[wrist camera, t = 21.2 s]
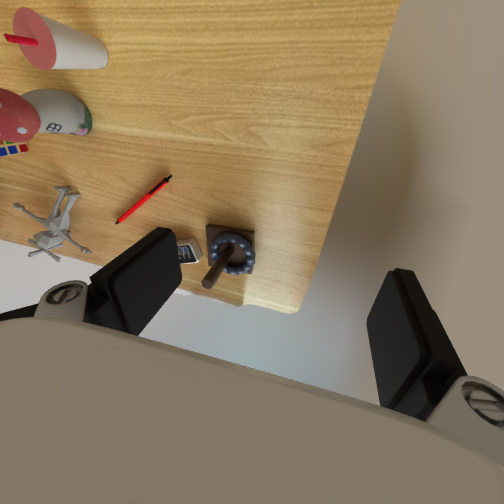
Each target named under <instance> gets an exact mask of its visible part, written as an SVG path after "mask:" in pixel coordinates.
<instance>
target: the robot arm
mask: <svg viewBox="0 0 504 504" xmlns="http://www.w3.org/2000/svg"><path fill="white" fill-rule="evenodd" d="M89 278H90V280H91V282H92V283H91V284H90V285H87V284H86V283H85V282H83V281H78V280H77V281H76V280H74V281H68V282H64V283H60V284H58V285H56V286H54V287H52V288H51V289H49V290H48V291H46V292H45V293H44V294H43V296H42V297H41V299H40V301H39V303H38V304H34V305H31V306H27V307H24V308H20V309H16V310H12V311H8V312H5V313H1V314H0V504H504V392H503V391H502V390H501V389H499V388H498V387H497V386H495V385H493V384H491V383H490V382H488V381H486V380H483V379H481V378H478V377H474V376H468V375H467V373H466V371H465V369H464V367H463V365H462V363H461V361H460V359H459V357H458V355H457V353H456V351H455V349H454V348H453V345H452V344H451V341H450V340H449V338H448V336H447V334H446V332H445V330H444V328H443V326H442V324H441V322H440V320H439V318H438V316H437V314H436V312H435V311H434V310H433V309H432V307H431V305H430V304H429V301H428V299H427V297H426V295H425V293H424V291H423V289H422V287H421V285H420V283H419V281H418V280H417V278H416V275H415V273H414V272H413V271H411V270H405V269H400V268H395V269H394V271H388V273H387V275H386V278H385V279H384V282H383V284H382V286H381V288H380V291H379V293H378V295H377V297H376V299H375V302H374V304H373V306H372V309H371V311H370V313H369V315H368V318H367V331H368V337H369V343H370V348H371V354H372V360H373V366H374V372H375V378H376V383H377V389H378V395H379V401H380V406H378V405H375V404H372V403H369V402H365V401H362V400H359V399H355V398H352V397H349V396H346V395H342V394H339V393H336V392H332V391H329V390H325V389H322V388H318V387H315V386H312V385H308V384H305V383H301V382H298V381H294V380H291V379H288V378H284V377H281V376H277V375H274V374H270V373H267V372H263V371H260V370H256V369H253V368H249V367H246V366H242V365H239V364H235V363H232V362H228V361H225V360H221V359H218V358H214V357H210V356H207V355H204V354H200V353H196V352H193V351H189V350H186V349H182V348H179V347H175V346H171V345H168V344H164V343H161V342H157V341H154V340H150V339H146V338H143V337H139V336H138V335H139V334H140V333H141V332H142V330H143V329H144V328H145V327H146V325H147V324H148V323H149V322H150V321H151V319H152V318H153V317H154V316H155V314H156V313H157V312H158V311H159V309H160V308H161V307H162V305H163V304H164V303H165V302H166V301H167V300H168V298H169V297H170V296H171V294H172V293H173V292H174V291H175V290H176V288H177V287H178V286H179V285H180V283H181V281H182V273H181V267H180V261H179V254H178V248H177V242H176V235H175V233H174V232H172V230H171V229H169V228H163V227H157V228H156V229H154V230H153V231H151V232H150V233H149V234H147V235H146V236H145V237H143V238H142V239H141V240H139V241H138V242H137V243H135V244H134V245H132V246H131V247H130V248H128V249H127V250H126V251H124V252H123V253H122V254H120V255H119V256H118V257H116V258H115V259H114V260H112V261H111V262H109V263H108V264H107V265H105V266H104V267H103V268H101V269H100V270H99V271H97V272H96V273H95V274H93V275H92V276H90V277H89Z"/></svg>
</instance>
